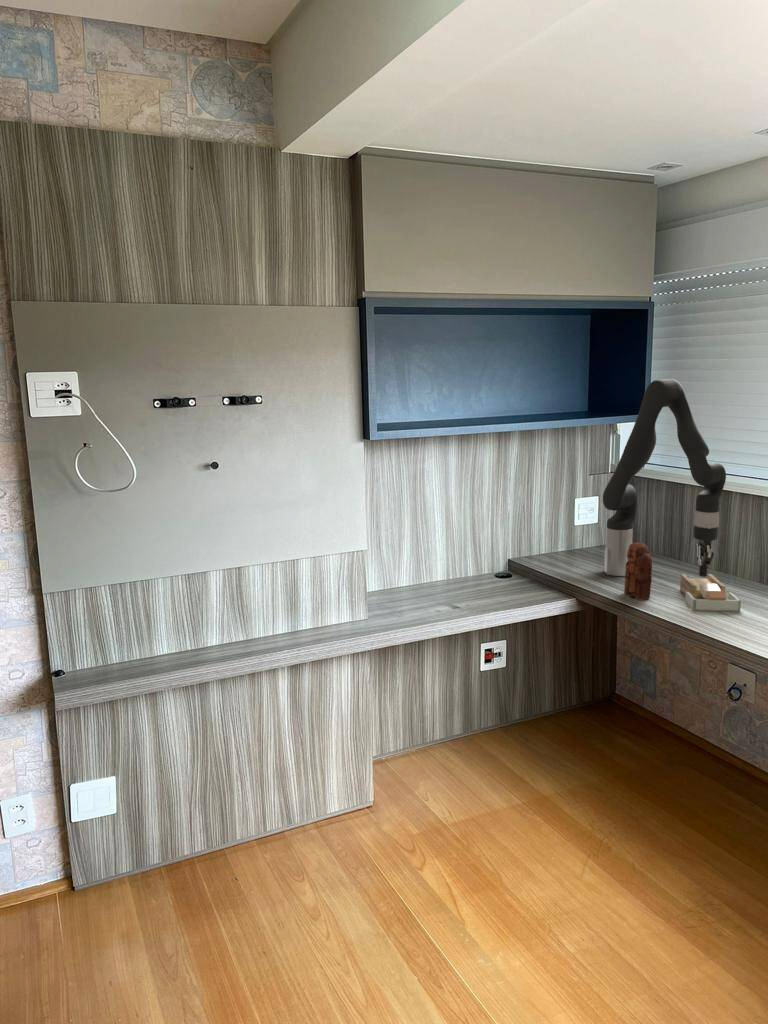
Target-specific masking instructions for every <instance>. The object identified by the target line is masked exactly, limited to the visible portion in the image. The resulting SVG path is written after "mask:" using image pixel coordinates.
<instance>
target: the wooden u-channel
mask: <svg viewBox="0 0 768 1024" xmlns="http://www.w3.org/2000/svg"><path fill="white" fill-rule="evenodd" d="M700 584H717V585H718V587H719V588H720V590H721V591H725V592H726V585H724V583H722V582H721V581H720V580H719V579H718V578H717V577H715V576H714V575H713V574H712V573H707V578H693V577H691V578H690V577H688V575H686V574H685V573H680V585H679V586H680V587H679V590H680V591H681V593H683V594H684V596H685V595H686V592H689V593H690V594H691V595H692V596H693V597H694V598H695V599H705V598H704V597H703V595H702V594H701V592H700Z"/></svg>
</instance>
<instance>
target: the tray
mask: <svg viewBox="0 0 768 1024" xmlns="http://www.w3.org/2000/svg"><path fill="white" fill-rule="evenodd" d="M685 604H686V605H687V604H688V605H687V606H688V607H689V608H690V610H692V612H730V611H740V612H741V606H742V605H741V604H742V600H741V599H739V597H737V596H736V595H735V594H734V593H733V592H728V599H726V600H706V599H695V598H694V597H693V596H692V595H691V594H690V593H689V592H686V596H685Z"/></svg>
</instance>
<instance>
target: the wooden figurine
mask: <svg viewBox="0 0 768 1024" xmlns="http://www.w3.org/2000/svg"><path fill="white" fill-rule="evenodd" d="M627 559H628V561H627V563H626V572H625V576H624V577H625V578H624V590H623V591H624V592H623V593H624V595H625V594H626V595H625V596H628V595H629V596H628V597H630V598H631V599H636V600H639V601H643V600H649V599H650V598H651V589H652V587H651V586H652V578H653V577H652V574H653V573H652V570H653V557H652V556H651V554H650V548H649V547H648V546H647V545H646V544H645V543H643V542H639V541H636V542H632V544H630V546H629V549H628V551H627Z"/></svg>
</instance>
